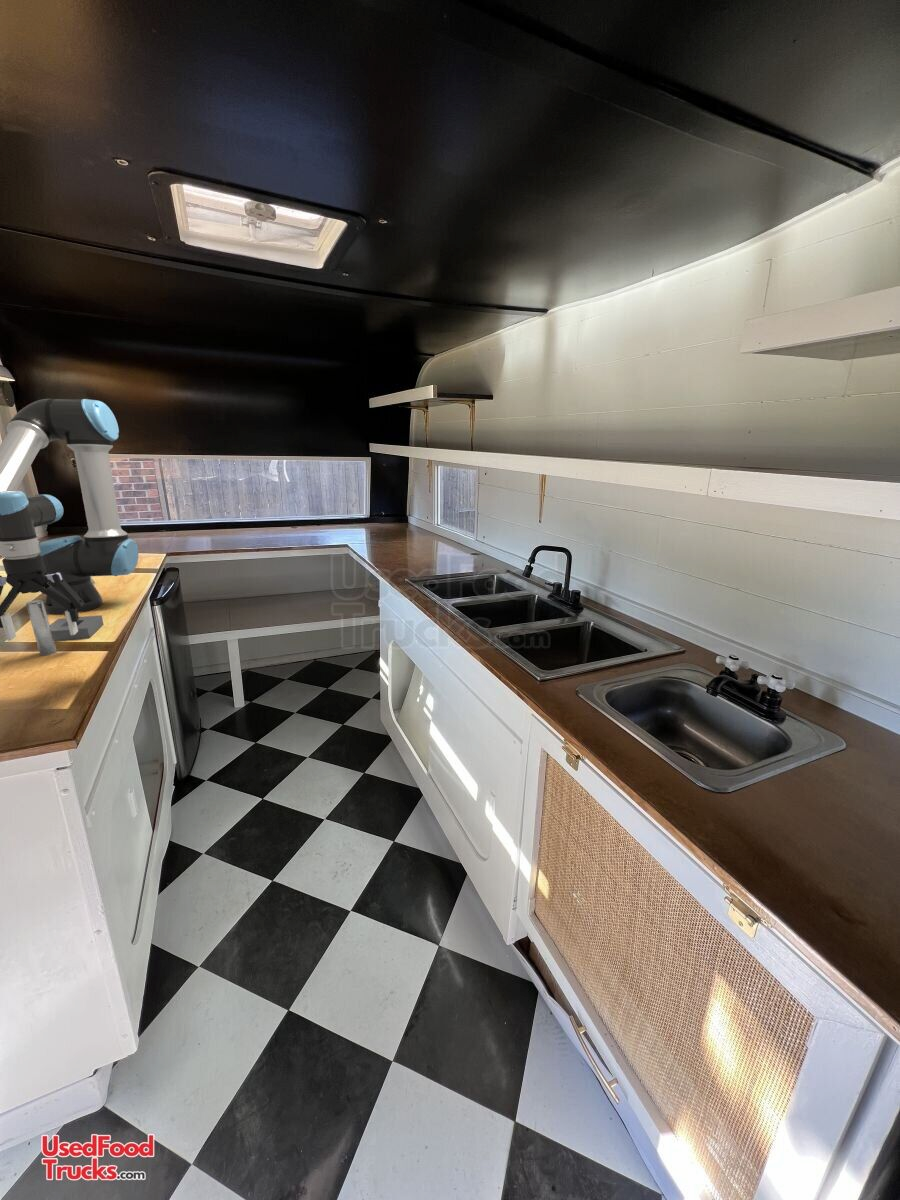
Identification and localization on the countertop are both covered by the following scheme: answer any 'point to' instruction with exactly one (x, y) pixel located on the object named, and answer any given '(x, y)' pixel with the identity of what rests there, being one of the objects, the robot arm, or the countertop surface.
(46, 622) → the steel peg
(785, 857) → the countertop surface
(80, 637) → the socket block
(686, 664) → the countertop surface
